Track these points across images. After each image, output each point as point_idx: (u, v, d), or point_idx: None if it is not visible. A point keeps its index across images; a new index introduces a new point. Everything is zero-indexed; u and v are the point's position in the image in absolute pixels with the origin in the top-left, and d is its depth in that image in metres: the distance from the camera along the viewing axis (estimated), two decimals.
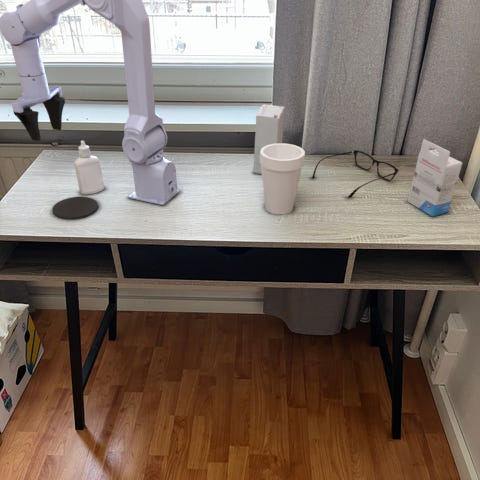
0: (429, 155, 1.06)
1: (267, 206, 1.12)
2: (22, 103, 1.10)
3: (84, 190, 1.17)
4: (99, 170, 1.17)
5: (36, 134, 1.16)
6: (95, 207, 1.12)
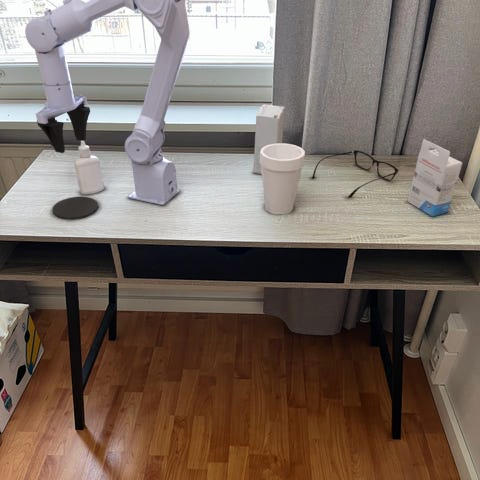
0: (429, 155, 1.06)
1: (267, 206, 1.12)
2: (47, 114, 1.04)
3: (84, 190, 1.17)
4: (99, 170, 1.17)
5: (60, 146, 1.10)
6: (95, 207, 1.12)
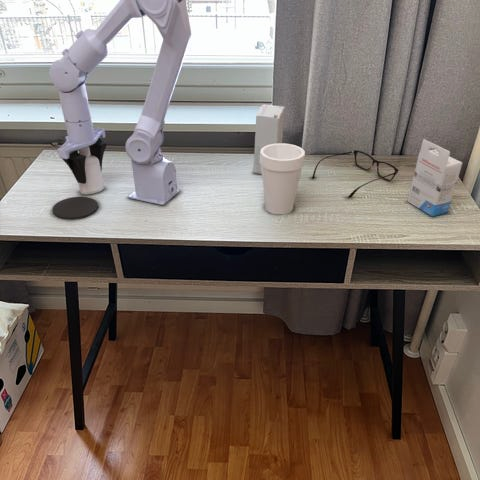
0: (429, 155, 1.06)
1: (267, 206, 1.12)
2: (68, 149, 1.07)
3: (84, 190, 1.17)
4: (99, 170, 1.17)
5: (82, 177, 1.14)
6: (95, 207, 1.12)
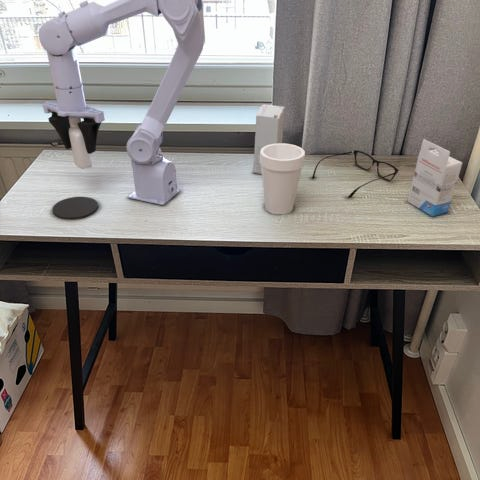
0: (429, 155, 1.06)
1: (267, 206, 1.12)
2: None
3: None
4: None
5: (95, 143, 1.11)
6: (95, 207, 1.12)
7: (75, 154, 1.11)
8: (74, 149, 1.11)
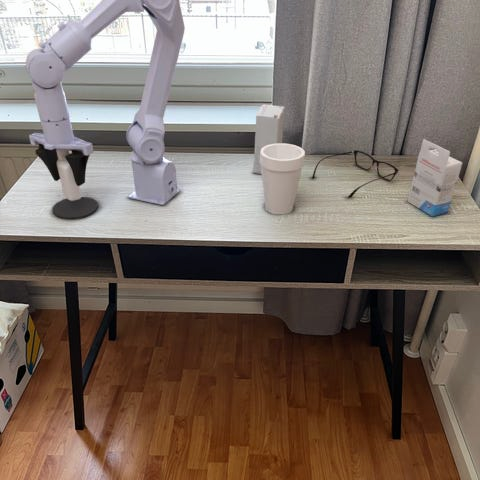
0: (429, 155, 1.06)
1: (267, 206, 1.12)
2: None
3: (80, 192, 1.09)
4: None
5: (84, 175, 1.07)
6: (95, 207, 1.12)
7: (64, 186, 1.08)
8: (63, 181, 1.07)
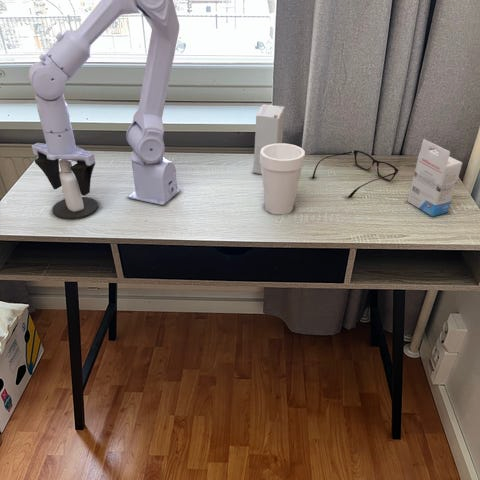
0: (429, 155, 1.06)
1: (267, 206, 1.12)
2: None
3: (82, 204, 1.11)
4: None
5: (89, 185, 1.08)
6: (95, 207, 1.12)
7: (66, 198, 1.09)
8: (65, 193, 1.09)
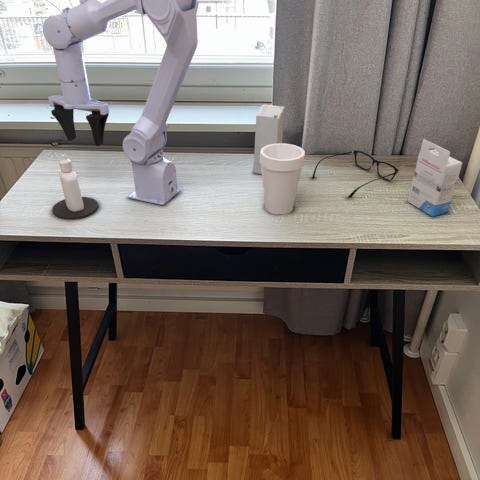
0: (429, 155, 1.06)
1: (267, 206, 1.12)
2: None
3: (82, 204, 1.11)
4: None
5: (102, 136, 1.14)
6: (95, 207, 1.12)
7: (66, 198, 1.09)
8: (65, 193, 1.09)
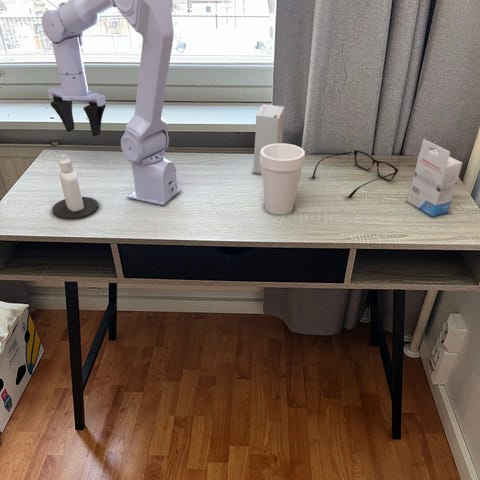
0: (429, 155, 1.06)
1: (267, 206, 1.12)
2: None
3: (82, 204, 1.11)
4: None
5: (100, 127, 1.19)
6: (95, 207, 1.12)
7: (66, 198, 1.09)
8: (65, 193, 1.09)
